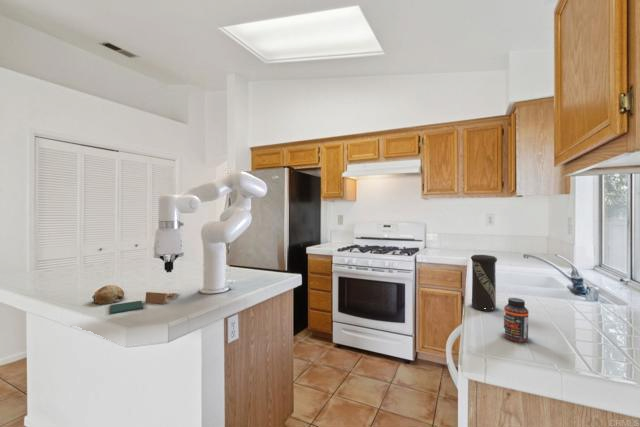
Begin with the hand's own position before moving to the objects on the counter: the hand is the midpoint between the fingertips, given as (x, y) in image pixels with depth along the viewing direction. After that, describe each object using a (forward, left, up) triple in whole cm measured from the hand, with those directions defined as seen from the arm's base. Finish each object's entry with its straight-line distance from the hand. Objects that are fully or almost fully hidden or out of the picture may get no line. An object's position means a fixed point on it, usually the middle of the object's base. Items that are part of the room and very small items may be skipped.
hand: (168, 271), depth 121 cm
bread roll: (+20, -15, -12) cm, 28 cm away
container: (-98, +73, -12) cm, 123 cm away
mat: (+14, -1, -12) cm, 19 cm away
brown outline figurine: (+5, -2, -10) cm, 11 cm away
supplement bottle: (-78, +93, -12) cm, 122 cm away
